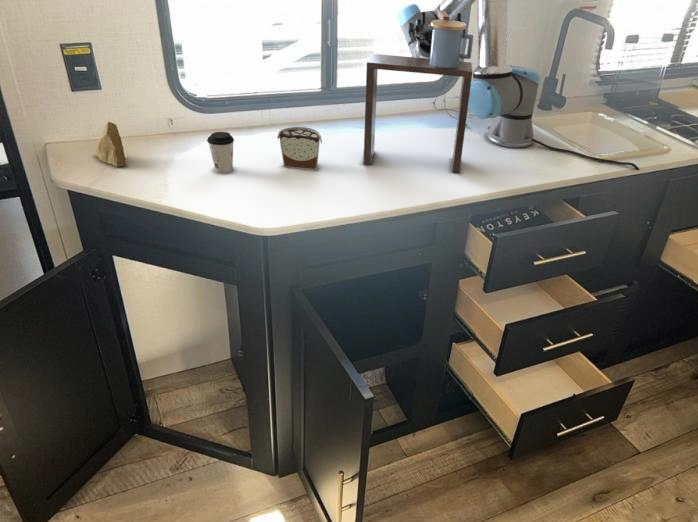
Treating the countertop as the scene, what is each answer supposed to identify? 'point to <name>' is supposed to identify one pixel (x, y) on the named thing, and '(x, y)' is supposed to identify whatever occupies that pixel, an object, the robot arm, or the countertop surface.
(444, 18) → the lid
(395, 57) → the riser
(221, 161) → the coffee cup
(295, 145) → the food container
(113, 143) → the rock
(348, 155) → the countertop surface
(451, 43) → the jug
